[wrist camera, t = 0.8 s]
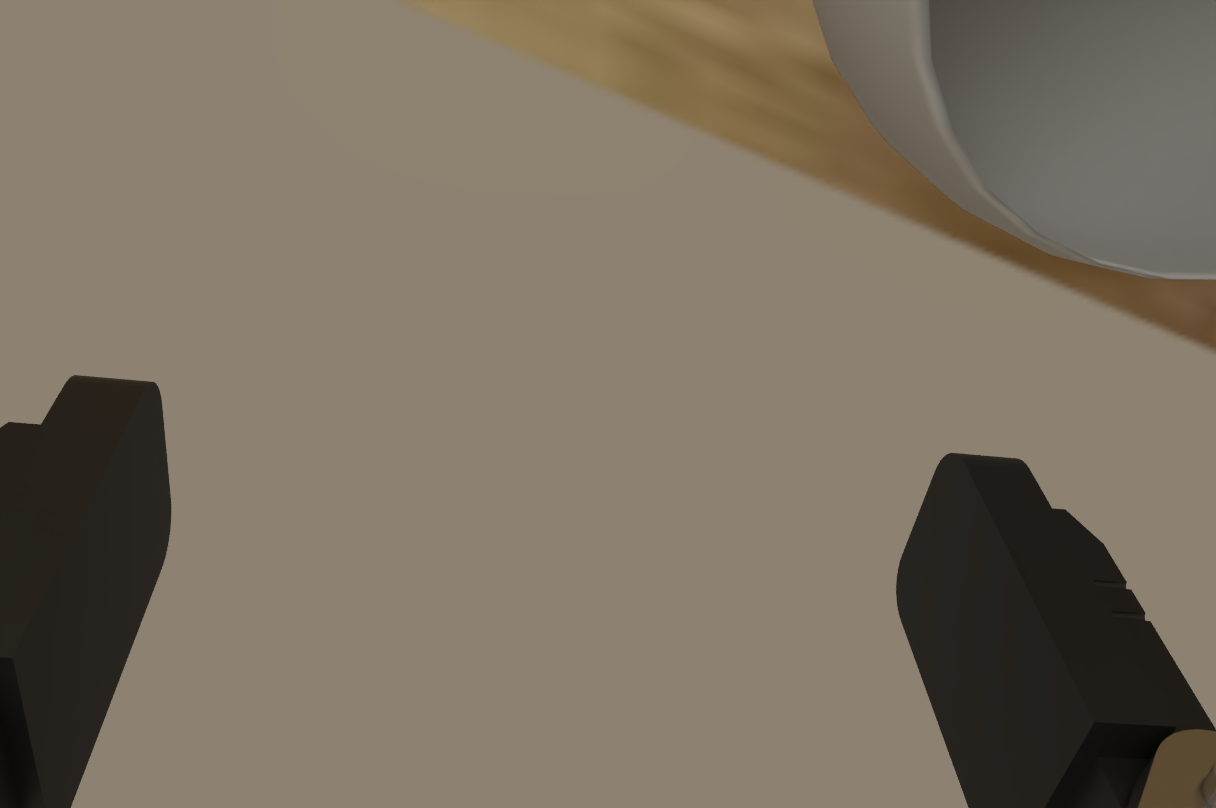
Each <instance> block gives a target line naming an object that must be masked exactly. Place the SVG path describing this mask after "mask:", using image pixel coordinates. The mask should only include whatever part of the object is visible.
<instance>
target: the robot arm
mask: <svg viewBox="0 0 1216 808" xmlns="http://www.w3.org/2000/svg"><path fill="white" fill-rule="evenodd" d="M170 524H171V497H170V485H169V475H168V464H167V453H166V443H165V432H164V420H163V410H162V400H161V395H160V391H159V388H158V386H157V384H156V383H155V382H148V381H136V380H124V379H113V378H101V377H90V376H78V375H74V376H72V377H71V378H69V379H68V381H67V382H66V383H65V385H64V387H63V388H62V390H61V392H60V393H59V395H58V397H57V398H56V400H55V402H54V403H53V405H52V407H51V409H50V410H49V412H48V414H47V415H46V417H45V419H44V420H43V422H42V424H41V425H38V424H26V423H14V422H8V423H7V424H5V425H4V426H2V427H1V428H0V808H71V805H72V802H73V800H74V797H75V795H76V792H77V789H78V787H79V784H80V782H81V779H82V776H83V774H84V771H85V768H86V766H87V763H88V761H89V758H90V755H91V753H92V750H93V747H94V745H95V742H96V740H97V737H98V734H99V732H100V729H101V727H102V724H103V721H104V719H105V716H106V713H107V711H108V708H109V706H110V703H111V700H112V698H113V695H114V692H115V690H116V687H117V684H118V682H119V679H120V677H121V674H122V671H123V669H124V666H125V664H126V661H127V658H128V655H129V653H130V650H131V648H132V645H133V643H134V640H135V637H136V635H137V632H138V629H139V627H140V624H141V621H142V619H143V616H144V614H145V611H146V608H147V606H148V603H149V601H150V598H151V595H152V592H153V590H154V587H155V585H156V582H157V579H158V577H159V574H160V571H161V569H162V566H163V563H164V560H165V556H166V551H167V547H168V542H169V535H170V526H171V525H170ZM1126 583H1127V582H1126V580H1125V579H1124V577H1123V576H1122V574H1121V572H1120V570H1119V569H1118V567H1117V566H1116V564H1115V562H1114V561H1113V559H1112V557H1111V556H1110V554H1109V553H1108V551H1107V549H1106V547H1105V546H1104V544H1103V543H1102V542H1101V541H1099V540H1098V539H1097V538H1096V537H1095V536H1094V535H1093V534H1092V533H1091V532H1090V531H1088V530H1087V529H1086V528H1085V527H1084V526H1083V525H1082V524H1081V523H1080V522H1078V521H1077V520H1076V519H1075V518H1074V517H1073V516H1072V515H1071V514H1070V513H1068V512H1067V511H1066V510H1063V509H1052V508H1051V506H1050V504H1049V502H1048V501H1047V499H1046V497H1045V495H1044V494H1043V492H1042V490H1041V489H1040V487H1039V485H1038V483H1037V481H1036V480H1035V478H1034V476H1033V475H1032V473H1031V471H1030V469H1029V468H1028V466H1027V465H1026V464H1025V463H1024V462H1023V461H1022V460H1020V459H1015V458H1004V457H991V456H981V455H969V454H958V453H950V454H947V455H946V456H944V457H943V459H942V460H941V461H940V463H939V464H938V466H937V468H936V470H935V473H934V475H933V478H932V480H931V483H930V485H929V488H928V491H927V493H926V496H925V499H924V501H923V504H922V506H921V508H920V511H919V514H918V516H917V519H916V522H915V524H914V526H913V529H912V531H911V534H910V537H909V539H908V542H907V544H906V547H905V549H904V552H903V554H902V557H901V560H900V564H899V568H898V574H897V585H896V588H897V589H896V595H897V606H898V611H899V615H900V619H901V622H902V625H903V627H904V630H905V633H906V636H907V638H908V641H909V644H910V647H911V649H912V652H913V655H914V658H915V661H916V663H917V666H918V669H919V672H920V674H921V677H922V680H923V683H924V685H925V688H926V691H927V694H928V696H929V699H930V702H931V705H932V708H933V710H934V713H935V716H936V719H937V721H938V724H939V727H940V730H941V733H942V735H943V738H944V741H945V744H946V746H947V749H948V752H949V755H950V757H951V760H952V763H953V766H954V768H955V771H956V774H957V777H958V780H959V782H960V785H961V788H962V790H963V793H964V796H965V799H966V802H967V804H968V807H969V808H1216V730H1215V728H1214V726H1213V724H1212V722H1211V721H1210V719H1209V717H1208V716H1207V714H1206V712H1205V711H1204V709H1203V708H1202V706H1201V704H1200V703H1199V701H1198V699H1197V698H1196V696H1195V694H1194V693H1193V691H1192V689H1191V688H1190V686H1189V684H1188V683H1187V681H1186V679H1185V678H1184V676H1183V674H1182V673H1181V671H1180V670H1179V668H1178V666H1177V665H1176V663H1175V661H1174V660H1173V658H1172V656H1171V655H1170V653H1169V651H1168V650H1167V648H1166V646H1165V645H1164V643H1163V641H1162V640H1161V638H1160V636H1159V635H1158V633H1157V632H1156V630H1155V628H1154V627H1153V625H1152V623H1151V622H1150V621H1145V612H1144V610H1143V608H1142V607H1141V605H1140V603H1139V602H1138V600H1137V599H1136V597H1135V595H1134V593H1133V592H1132V590H1129V589H1126Z"/></svg>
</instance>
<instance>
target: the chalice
mask: <svg viewBox="0 0 1216 808" xmlns="http://www.w3.org/2000/svg"><path fill="white" fill-rule="evenodd" d="M812 1H813V4H814V7H815V10H816V13H817V16H818V19H819V22H820V26H821V29H822V32H823V35H824V38H825V41H826V44H827V47H828V50H829V54H830V57H831V60H832V61H833V63H834V65H835V66H836V68H837V69H838V71H839V73H840V74H841V76H842V77H843V79H844V80H845V82H846V84H847V85H848V87H849V88H850V90H851V92H852V93H853V95H854V96H855V98H856V100H857V101H858V103H859V104H860V106H861V108H862V109H863V111H864V112H865V114H866V116H867V117H868V119H869V120H870V122H871V123H872V125H873V126H874V127H875V128H876V130H877V131H878V132H879V133H880V134H881V136H882V137H883V138H884V139H885V140H886V142H887V143H888V144H889V145H890V146H891V147H893V148H894V149H895V150H896V151H897V152H898V153H899V154H900V155H901V156H902V157H904V158H905V159H906V160H907V161H908V162H909V163H910V164H911V165H912V166H914V167H915V168H916V169H917V170H918V171H919V172H920V173H921V174H922V175H923V176H925V177H926V178H927V179H928V180H929V181H930V182H931V183H932V184H933V185H934V186H936V187H937V188H938V189H939V190H940V191H941V192H942V193H943V194H945V195H946V196H947V197H948V198H949V199H951V200H952V201H953V202H954V203H955V204H957V205H958V206H959V207H960V208H961V209H963V210H965V211H967V212H969V213H971V214H973V215H975V216H976V217H978V218H980V219H982V220H984V221H986V222H988V223H990V224H991V225H993V226H995V227H997V228H999V229H1001V230H1003V231H1005V232H1007V233H1009V234H1011V235H1013V236H1015V237H1017V238H1018V239H1020V240H1022V241H1024V242H1026V243H1028V244H1030V245H1032V246H1034V247H1036V248H1038V249H1040V250H1042V251H1044V252H1045V253H1047V254H1049V255H1053V256H1057V257H1061V258H1065V259H1069V260H1072V261H1076V262H1080V263H1084V264H1089V265H1093V266H1097V267H1101V268H1106V269H1110V270H1114V271H1119V272H1123V273H1127V274H1132V275H1136V276H1141V277H1145V278H1150V279H1178V280H1216V0H812Z"/></svg>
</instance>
